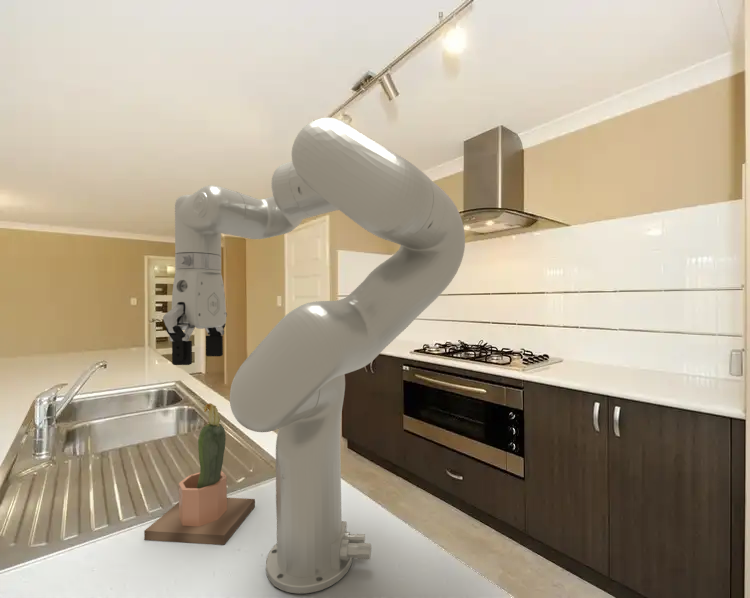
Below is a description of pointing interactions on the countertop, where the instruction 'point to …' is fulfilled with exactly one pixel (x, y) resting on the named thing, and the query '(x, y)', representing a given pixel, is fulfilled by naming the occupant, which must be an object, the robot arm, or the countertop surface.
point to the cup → (201, 501)
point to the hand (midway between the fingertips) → (199, 360)
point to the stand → (205, 534)
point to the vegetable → (211, 448)
